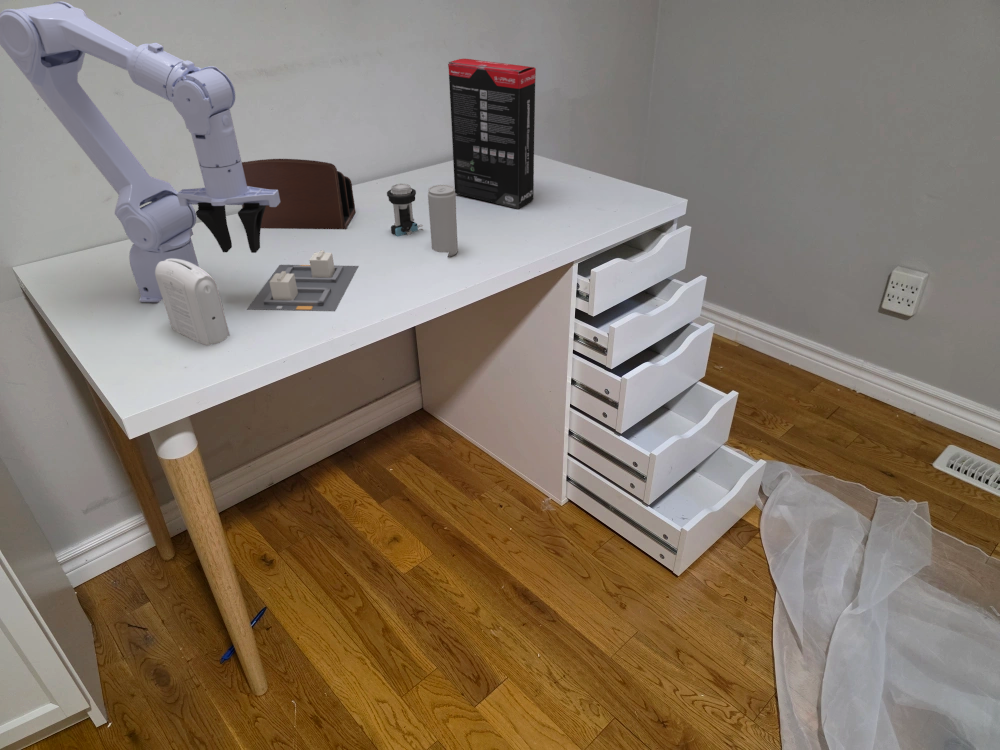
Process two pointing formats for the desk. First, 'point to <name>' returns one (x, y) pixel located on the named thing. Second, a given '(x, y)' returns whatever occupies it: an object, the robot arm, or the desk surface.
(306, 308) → the switch bank
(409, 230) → the push button
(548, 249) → the desk surface
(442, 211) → the beverage can
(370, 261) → the desk surface
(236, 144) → the robot arm
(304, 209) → the letter holder
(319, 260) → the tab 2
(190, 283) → the photo printer
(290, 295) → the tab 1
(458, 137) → the graphics card box
